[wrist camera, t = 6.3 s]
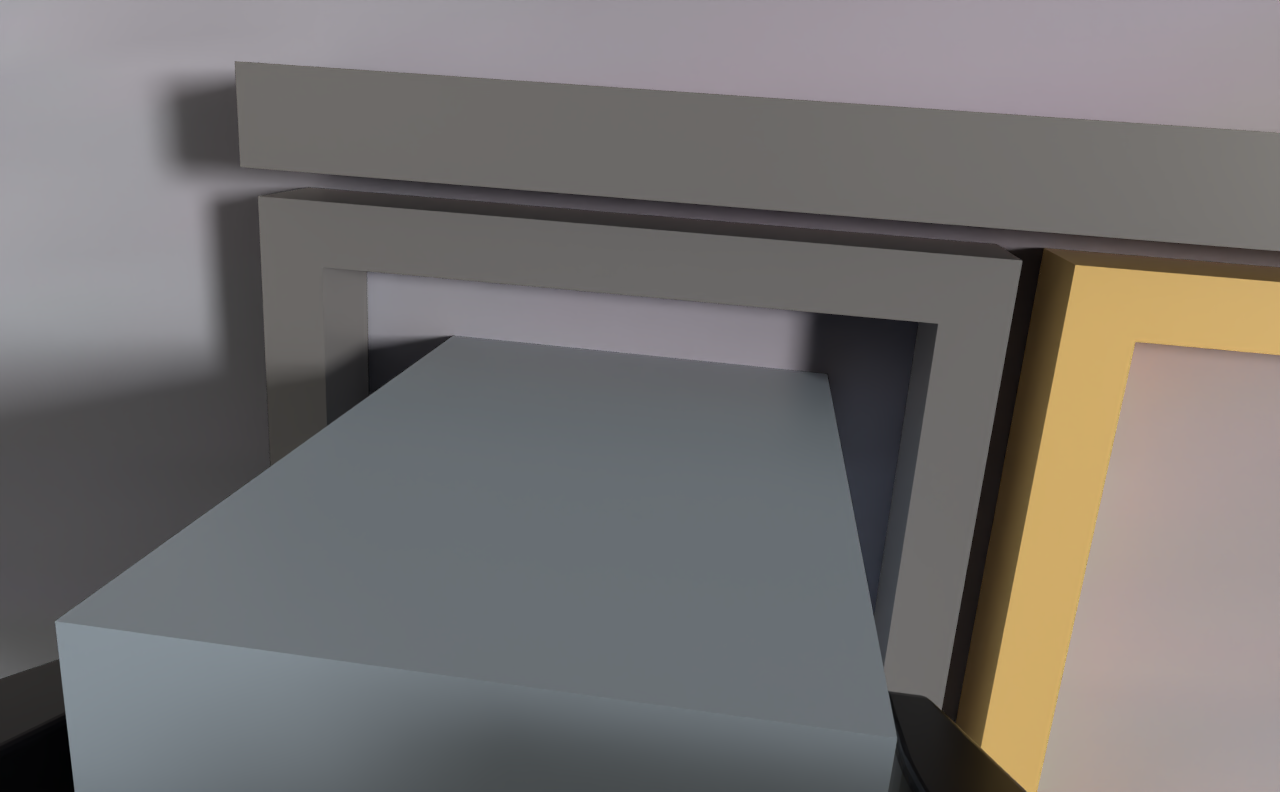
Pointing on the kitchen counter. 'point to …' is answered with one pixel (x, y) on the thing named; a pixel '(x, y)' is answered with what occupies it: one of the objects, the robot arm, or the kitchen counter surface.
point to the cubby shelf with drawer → (802, 293)
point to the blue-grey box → (506, 597)
